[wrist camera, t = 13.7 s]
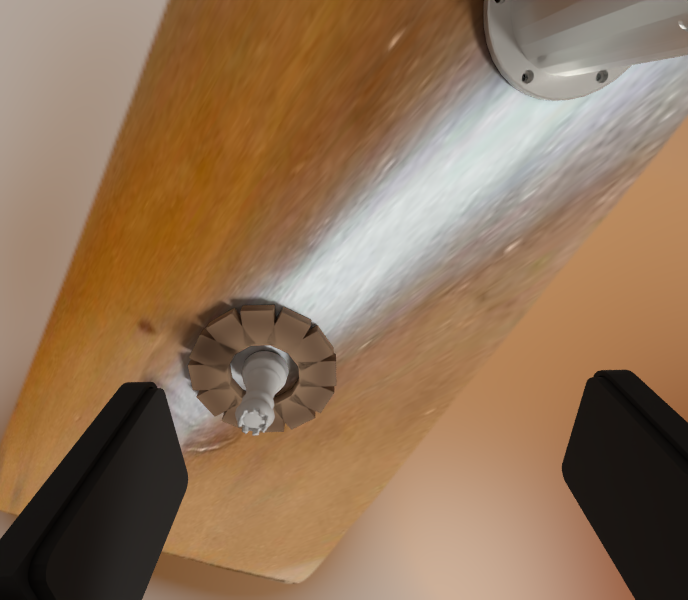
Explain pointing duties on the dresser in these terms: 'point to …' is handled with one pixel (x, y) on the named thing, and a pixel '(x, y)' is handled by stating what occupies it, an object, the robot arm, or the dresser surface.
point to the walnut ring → (257, 330)
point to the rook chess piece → (260, 390)
